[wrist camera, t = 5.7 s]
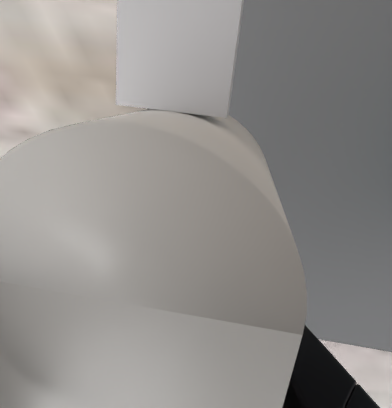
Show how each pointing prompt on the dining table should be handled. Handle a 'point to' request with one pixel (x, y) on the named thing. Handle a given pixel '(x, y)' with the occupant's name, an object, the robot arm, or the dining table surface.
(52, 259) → the white rounded piece
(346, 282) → the rubber mat
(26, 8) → the dining table surface
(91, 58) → the dining table surface
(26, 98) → the dining table surface
